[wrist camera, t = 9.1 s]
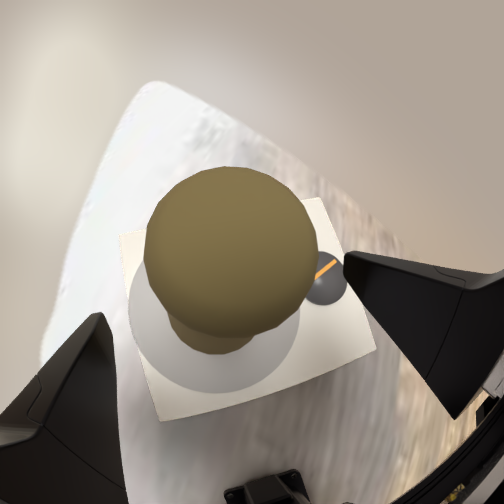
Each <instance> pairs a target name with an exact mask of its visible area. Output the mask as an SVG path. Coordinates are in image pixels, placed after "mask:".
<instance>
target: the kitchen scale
mask: <svg viewBox="0 0 504 504" xmlns="http://www.w3.org/2000/svg"><path fill="white" fill-rule="evenodd" d="M300 201H301V203H302V204H303V205H304V207H305V209H306V211H307V213H308V215H309V217H310V219H311V222H312V224H313V226H314V228H315V231H316V236H317V243H318V251H319V260H318V265H317V270H316V275H315V280H314V283H313V285H312V287H311V289H310V291H309V292H308V294H307V296H306V297H305V299H304V301H303V302H302V304H301V306H300V307H299V309H298V310H297V311H296V312H295V313H294V314H293V315H291V316H290V317H289V318H288V319H286V320H285V321H284V322H283V323H282V324H280V325H279V326H278V327H277V328H274V329H271V330H269V331H266V332H263V333H260V334H258V335H255V336H254V337H253V338H252V340H251V341H250V342H248V343H247V344H246V345H244V346H243V347H242V348H240V349H239V350H236V351H233V352H230V353H227V354H224V355H208V354H205V353H202V352H199V351H196V350H193V349H192V348H190V347H189V346H188V345H186V344H185V343H184V342H182V341H181V340H180V339H179V337H178V336H177V334H176V333H175V332H174V330H173V329H172V327H171V324H170V321H169V317H168V314H167V311H166V310H165V308H164V307H163V305H162V304H161V302H160V301H159V299H158V298H157V296H156V295H155V293H154V292H153V290H152V289H151V287H150V285H149V281H148V277H147V273H146V269H145V265H144V260H143V256H144V246H145V237H146V230H147V228H146V229H142V230H137V231H133V232H129V233H124V234H120V235H119V243H120V251H121V259H122V267H123V274H124V280H125V287H126V293H127V298H128V315H129V322H130V327H131V330H132V334H133V337H134V339H135V341H136V343H137V346H138V350H139V354H140V358H141V362H142V366H143V370H144V373H145V377H146V380H147V384H148V387H149V390H150V394H151V397H152V400H153V403H154V406H155V409H156V412H157V415H158V418H159V421H160V422H163V421H169V420H174V419H179V418H184V417H189V416H193V415H198V414H202V413H206V412H210V411H214V410H218V409H222V408H226V407H229V406H233V405H237V404H240V403H243V402H247V401H250V400H253V399H256V398H260V397H263V396H266V395H269V394H272V393H275V392H278V391H280V390H283V389H286V388H289V387H291V386H294V385H297V384H299V383H302V382H305V381H307V380H310V379H312V378H315V377H317V376H320V375H322V374H324V373H327V372H329V371H331V370H334V369H336V368H338V367H340V366H343V365H345V364H347V363H349V362H351V361H353V360H356V359H358V358H360V357H362V356H364V355H366V354H368V353H370V352H372V351H374V350H376V346H375V343H374V339H373V336H372V333H371V330H370V326H369V323H368V320H367V317H366V314H365V311H364V308H363V305H362V302H361V301H360V300H359V298H358V297H357V295H356V294H355V292H354V291H353V289H352V288H351V287H350V285H349V284H348V282H347V281H346V280H345V278H344V276H343V261H344V253H343V251H342V248H341V246H340V243H339V241H338V238H337V236H336V234H335V231H334V229H333V226H332V224H331V222H330V219H329V217H328V215H327V212H326V210H325V208H324V205H323V203H322V201H321V199H320V197H318V198H311V199H304V200H300Z"/></svg>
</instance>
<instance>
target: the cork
mask: <svg viewBox="0 0 504 504" xmlns="http://www.w3.org/2000/svg"><path fill="white" fill-rule="evenodd" d="M143 260H144V265H145V269H146V273H147V277H148V281H149V285H150V287H151V289H152V290H153V292H154V293H155V295H156V296H157V298H158V299H159V301H160V302H161V304H162V305H163V307H164V308H165V310H166V311H167V314H168V317H169V321H170V324H171V327H172V329H173V330H174V332H175V333H176V334H177V336H178V337H179V339H180V340H181V341H182V342H184V343H185V344H186V345H188V346H189V347H190V348H192V349H193V350H196V351H199V352H202V353H205V354H208V355H224V354H227V353H230V352H233V351H236V350H239V349H240V348H242V347H243V346H244V345H246V344H247V343H248V342H250V341H251V340H252V338H253V337H254V336H255V335H258V334H260V333H263V332H266V331H269V330H271V329H274V328H277V327H278V326H279V325H280V324H282V323H283V322H284V321H285V320H286V319H288V318H289V317H290V316H291V315H293V314H294V313H295V312H296V311H297V310H298V309H299V307H300V306H301V304H302V302H303V301H304V299H305V297H306V296H307V294H308V292H309V291H310V289H311V287H312V285H313V283H314V280H315V275H316V270H317V265H318V260H319V251H318V243H317V236H316V231H315V228H314V226H313V224H312V222H311V219H310V217H309V215H308V213H307V211H306V209H305V207H304V205H303V204H302V203H301V201H300V200H299V199H298V198H297V197H296V196H295V195H294V194H293V192H292V191H291V190H290V189H289V188H288V187H286V186H285V185H283V184H282V183H280V182H279V181H277V180H276V179H274V178H273V177H271V176H269V175H267V174H264V173H261V172H258V171H255V170H252V169H249V168H241V167H226V166H223V167H218V168H213V169H208V170H204V171H200V172H198V173H196V174H194V175H193V176H191V177H189V178H187V179H185V180H183V181H181V182H180V183H178V184H177V185H175V186H174V187H173V188H172V189H171V190H170V191H169V192H168V193H167V194H166V195H165V196H164V197H163V198H162V199H161V200H160V202H159V203H158V204H157V206H156V208H155V210H154V212H153V214H152V216H151V218H150V220H149V223H148V225H147V230H146V237H145V246H144V256H143Z"/></svg>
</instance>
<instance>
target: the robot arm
mask: <svg viewBox="0 0 504 504" xmlns="http://www.w3.org/2000/svg"><path fill="white" fill-rule="evenodd" d="M343 276H344V278H345V280H346V281H347V282H348V284H349V285H350V287H351V288H352V289H353V291H354V292H355V294H356V295H357V297H358V298H359V300H360V301H361V302H362V304H363V305H364V306H365V308H366V309H367V310H368V311H369V312H370V313H371V315H372V316H373V317H374V318H375V319H376V321H377V322H378V323H379V324H380V325H381V327H382V328H383V329H384V330H385V331H386V333H387V334H388V335H389V336H390V338H391V339H392V340H393V341H394V342H395V344H396V345H397V346H398V347H399V349H400V350H401V351H402V352H403V354H404V355H405V356H406V357H407V359H408V360H409V361H410V362H411V364H412V365H413V366H414V368H415V369H416V370H417V371H418V373H419V374H420V375H421V377H422V378H423V379H424V380H425V382H426V383H427V385H428V386H429V387H430V389H431V390H432V391H433V393H434V394H435V395H436V397H437V398H438V399H439V401H440V402H441V403H442V405H443V406H444V407H445V409H446V410H447V412H448V413H449V414H450V416H451V417H452V418H453V419H454V420H456V419H457V418H458V417H459V416H460V415H461V414H462V413H463V412H464V411H465V410H466V409H467V408H468V406H469V405H470V404H471V403H472V402H473V401H474V400H475V399H476V398H477V397H478V396H479V394H480V393H481V392H482V391H483V390H484V391H485V392H486V393H487V394H488V395H489V396H488V397H487V398H486V400H485V401H484V402H483V403H482V405H481V406H480V407H479V408H478V410H477V411H476V429H475V430H474V431H473V432H472V433H471V434H470V435H469V437H468V438H467V439H466V440H465V441H464V442H463V443H462V444H461V445H460V446H459V447H458V448H457V449H456V450H455V451H454V452H453V453H452V454H451V455H450V456H449V457H448V458H447V459H446V460H444V461H443V462H442V463H441V464H440V465H439V466H438V467H437V468H435V469H434V470H433V471H432V472H431V473H430V474H428V475H427V476H426V477H425V478H424V479H422V480H421V481H420V482H419V483H417V484H416V485H415V486H413V487H412V488H411V489H410V490H408V491H407V492H405V493H404V494H403V495H401V496H400V497H398V498H397V499H396V500H394V501H393V502H391V503H390V504H440V503H441V502H442V501H443V500H444V499H445V498H446V497H448V496H449V495H450V494H451V493H452V492H453V491H454V490H455V489H456V488H457V487H458V486H459V485H460V484H462V485H463V486H464V487H465V488H463V489H462V490H461V491H459V492H458V493H457V494H456V495H455V496H456V498H455V499H454V500H453V501H451V502H450V503H448V504H504V269H503V270H502V271H499V272H497V273H494V274H483V273H476V272H470V271H463V270H457V269H451V268H445V267H440V266H434V265H429V264H424V263H419V262H414V261H408V260H403V259H398V258H392V257H387V256H381V255H376V254H370V253H365V252H359V251H351V252H347V253H345V255H344V261H343ZM294 473H296V475H295V476H292V474H294ZM228 494H233V495H232V496H227V495H228ZM224 498H225V500H226V502H227V504H311V503H310V500H309V497H308V495H307V492H306V489H305V486H304V483H303V480H302V477H301V475H300V473H299V471H298V470H296V469H293V470H290V471H287V472H284V473H282V474H279V475H272V476H269V477H266V478H263V479H260V480H257V481H253V482H250V483H247V484H245V485H244V486H241V487H237V488H233V489H229V490H226V491H225V492H224ZM0 504H129V502H128V497H127V492H126V487H125V481H124V474H123V467H122V459H121V451H120V441H119V428H118V412H117V377H116V365H115V356H114V345H113V335H112V332H111V329H110V327H109V325H108V323H107V320H106V318H105V316H104V314H103V313H102V312H98V313H93V314H91V315H90V316H89V317H88V318H87V319H86V320H85V321H84V322H83V323H82V324H81V325H80V326H79V327H78V328H77V329H76V330H75V332H74V333H73V334H72V335H71V336H70V337H69V338H68V339H67V340H66V341H65V342H64V343H63V345H62V346H61V347H60V348H59V349H58V350H57V351H56V352H55V353H54V355H53V356H52V357H51V358H50V359H49V360H48V361H47V362H46V364H45V365H44V366H43V367H42V368H41V369H40V371H39V372H38V374H37V375H35V376H34V378H33V379H32V380H31V381H30V383H29V384H28V385H27V386H26V387H25V388H24V389H23V391H22V392H21V393H20V394H19V395H18V396H17V397H16V398H15V399H14V400H13V401H12V403H11V404H10V405H9V406H8V407H7V408H6V409H5V410H4V411H3V412H2V413H1V414H0ZM343 504H353V503H349V502H346V503H343Z"/></svg>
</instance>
